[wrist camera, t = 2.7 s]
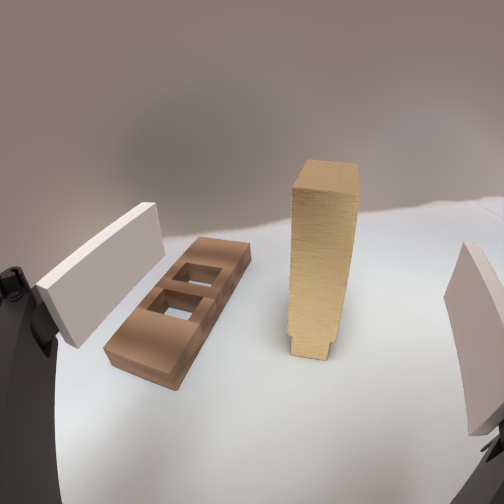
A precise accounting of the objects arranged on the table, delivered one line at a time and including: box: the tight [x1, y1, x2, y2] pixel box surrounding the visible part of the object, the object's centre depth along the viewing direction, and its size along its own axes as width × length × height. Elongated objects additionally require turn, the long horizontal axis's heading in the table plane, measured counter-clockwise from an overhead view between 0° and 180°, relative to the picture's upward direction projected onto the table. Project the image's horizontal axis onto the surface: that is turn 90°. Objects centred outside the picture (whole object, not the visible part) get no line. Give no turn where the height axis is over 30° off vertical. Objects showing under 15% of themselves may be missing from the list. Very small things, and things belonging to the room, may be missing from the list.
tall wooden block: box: [287, 159, 360, 361], centre depth 24 cm, size 7×4×15 cm, turn 162°
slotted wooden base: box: [103, 237, 251, 391], centre depth 31 cm, size 20×7×2 cm, turn 162°
